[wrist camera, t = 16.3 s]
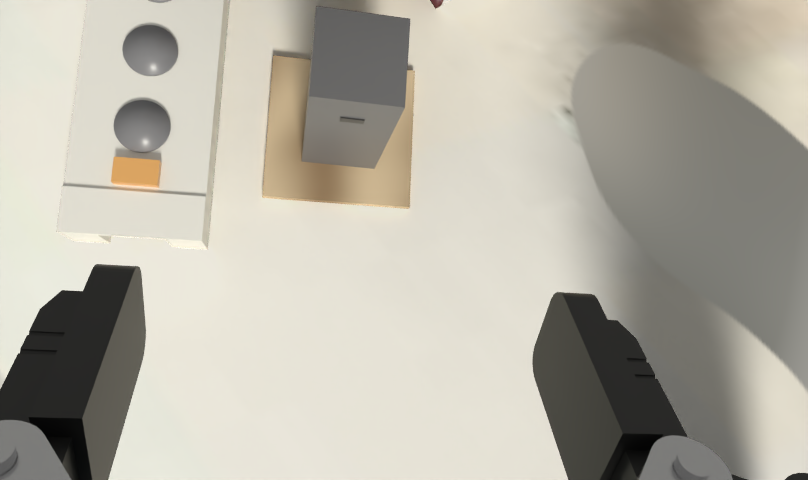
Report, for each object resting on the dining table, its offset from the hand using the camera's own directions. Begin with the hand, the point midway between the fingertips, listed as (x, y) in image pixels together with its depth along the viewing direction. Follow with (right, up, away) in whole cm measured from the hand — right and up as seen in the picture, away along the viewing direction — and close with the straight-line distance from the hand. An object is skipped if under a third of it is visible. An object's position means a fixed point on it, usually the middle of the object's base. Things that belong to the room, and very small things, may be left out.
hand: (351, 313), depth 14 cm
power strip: (-14, +10, +29) cm, 34 cm away
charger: (-3, +8, +30) cm, 31 cm away
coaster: (-3, +8, +30) cm, 32 cm away
